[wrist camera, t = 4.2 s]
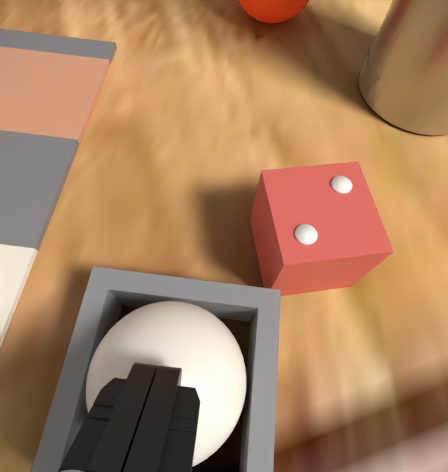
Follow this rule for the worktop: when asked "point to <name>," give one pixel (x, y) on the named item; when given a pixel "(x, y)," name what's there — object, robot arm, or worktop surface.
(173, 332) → the dome cap
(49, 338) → the worktop surface
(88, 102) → the game board
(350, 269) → the die
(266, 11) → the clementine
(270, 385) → the dome base
